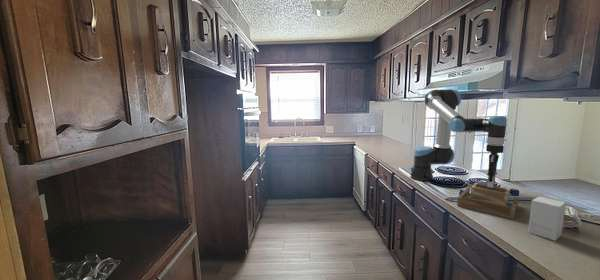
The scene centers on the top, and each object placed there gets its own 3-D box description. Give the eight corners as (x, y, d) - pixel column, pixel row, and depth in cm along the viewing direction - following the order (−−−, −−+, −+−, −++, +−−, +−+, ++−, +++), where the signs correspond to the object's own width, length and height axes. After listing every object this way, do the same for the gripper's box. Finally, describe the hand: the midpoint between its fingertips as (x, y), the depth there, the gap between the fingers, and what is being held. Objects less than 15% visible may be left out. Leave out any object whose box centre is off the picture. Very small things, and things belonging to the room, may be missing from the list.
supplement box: (562, 235, 110) (567, 202, 107) (555, 241, 105) (560, 207, 103) (534, 226, 117) (539, 195, 115) (527, 232, 112) (531, 199, 110)
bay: (466, 195, 156) (467, 186, 156) (517, 205, 140) (518, 196, 139) (457, 205, 141) (458, 196, 140) (513, 219, 124) (514, 208, 123)
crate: (474, 194, 153) (476, 166, 150) (508, 201, 142) (512, 171, 139) (470, 198, 145) (473, 169, 143) (506, 206, 134) (510, 175, 132)
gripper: (502, 147, 130) (496, 191, 134) (505, 143, 142) (501, 184, 145) (484, 145, 136) (479, 188, 139) (489, 142, 147) (485, 181, 151)
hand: (490, 186), depth 142 cm, fingers closed on crate, 3 cm apart
